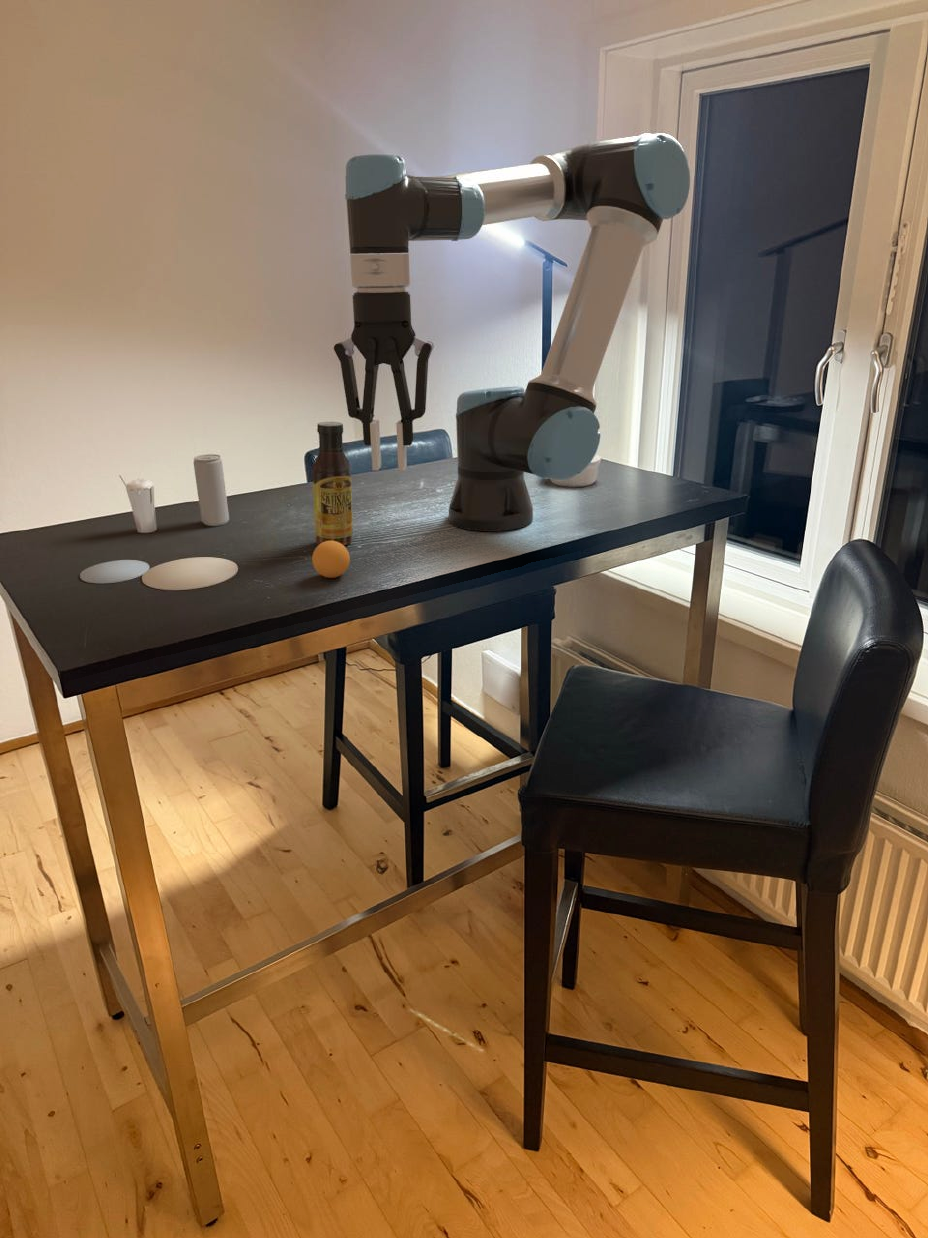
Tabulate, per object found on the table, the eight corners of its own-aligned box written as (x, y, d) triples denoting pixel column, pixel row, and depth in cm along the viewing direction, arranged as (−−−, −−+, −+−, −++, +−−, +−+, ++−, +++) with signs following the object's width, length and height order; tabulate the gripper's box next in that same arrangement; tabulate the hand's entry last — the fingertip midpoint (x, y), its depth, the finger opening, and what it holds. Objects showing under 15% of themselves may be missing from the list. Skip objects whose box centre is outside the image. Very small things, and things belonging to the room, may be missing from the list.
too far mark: (162, 563, 134) (162, 562, 134) (123, 586, 125) (122, 584, 125) (108, 559, 137) (107, 557, 137) (65, 580, 128) (65, 579, 128)
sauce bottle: (322, 551, 139) (313, 428, 131) (310, 541, 144) (301, 421, 136) (360, 545, 141) (353, 424, 133) (347, 535, 146) (340, 418, 139)
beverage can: (222, 527, 152) (213, 460, 147) (197, 526, 153) (187, 459, 148) (234, 519, 156) (226, 454, 151) (209, 518, 157) (201, 453, 152)
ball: (356, 571, 130) (354, 537, 127) (342, 584, 125) (339, 548, 123) (323, 569, 131) (320, 534, 129) (307, 581, 126) (304, 545, 124)
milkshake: (132, 527, 153) (123, 472, 149) (163, 526, 153) (154, 471, 149) (125, 534, 148) (115, 478, 144) (157, 533, 149) (147, 477, 145)
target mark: (254, 562, 134) (254, 560, 134) (206, 593, 122) (206, 592, 122) (176, 555, 138) (176, 554, 138) (122, 585, 125) (122, 584, 125)
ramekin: (541, 476, 183) (541, 452, 181) (592, 474, 184) (593, 450, 182) (551, 489, 173) (552, 464, 171) (605, 487, 174) (607, 461, 172)
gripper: (313, 291, 108) (327, 474, 118) (438, 290, 107) (443, 475, 116) (327, 289, 115) (340, 461, 125) (445, 288, 114) (449, 462, 123)
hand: (389, 467), depth 120 cm, fingers open, 3 cm apart
